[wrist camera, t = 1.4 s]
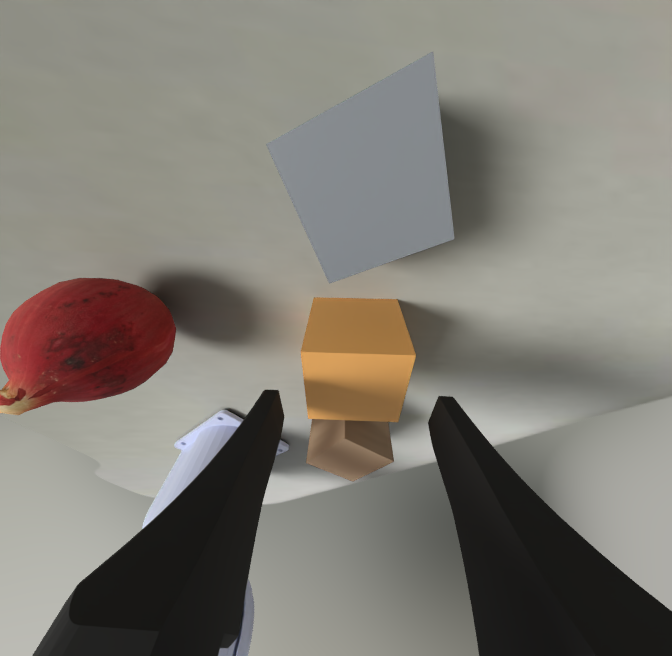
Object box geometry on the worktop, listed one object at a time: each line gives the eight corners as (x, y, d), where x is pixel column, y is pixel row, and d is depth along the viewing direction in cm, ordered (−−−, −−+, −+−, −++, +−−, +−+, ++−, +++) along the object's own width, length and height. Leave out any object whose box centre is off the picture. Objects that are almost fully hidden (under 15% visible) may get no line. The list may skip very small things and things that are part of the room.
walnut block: (352, 429, 23) (352, 481, 19) (313, 410, 21) (305, 462, 18) (385, 407, 21) (394, 461, 17) (345, 384, 19) (344, 438, 15)
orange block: (317, 357, 17) (308, 418, 13) (314, 296, 15) (300, 351, 10) (386, 359, 17) (398, 422, 13) (397, 298, 14) (416, 355, 10)
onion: (152, 239, 13) (-48, 327, 6) (219, 323, 16) (130, 439, 9) (79, 274, 14) (-145, 376, 8) (154, 345, 17) (38, 459, 11)
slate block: (334, 246, 13) (329, 283, 9) (295, 147, 10) (266, 144, 7) (421, 212, 12) (454, 238, 8) (399, 91, 9) (432, 51, 5)
